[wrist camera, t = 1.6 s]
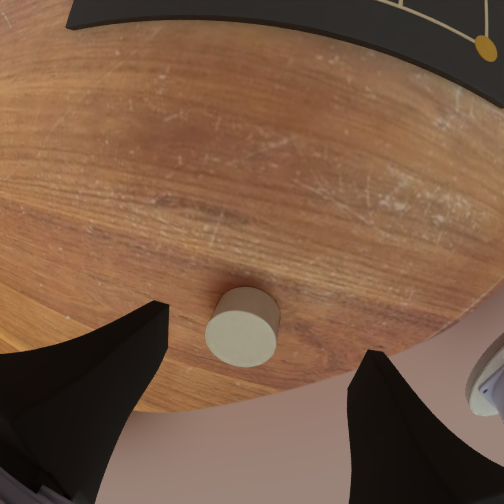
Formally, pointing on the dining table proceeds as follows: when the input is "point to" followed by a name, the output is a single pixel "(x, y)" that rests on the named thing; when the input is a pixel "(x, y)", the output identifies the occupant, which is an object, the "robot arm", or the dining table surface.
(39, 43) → the dining table surface
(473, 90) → the board
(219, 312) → the cylinder
